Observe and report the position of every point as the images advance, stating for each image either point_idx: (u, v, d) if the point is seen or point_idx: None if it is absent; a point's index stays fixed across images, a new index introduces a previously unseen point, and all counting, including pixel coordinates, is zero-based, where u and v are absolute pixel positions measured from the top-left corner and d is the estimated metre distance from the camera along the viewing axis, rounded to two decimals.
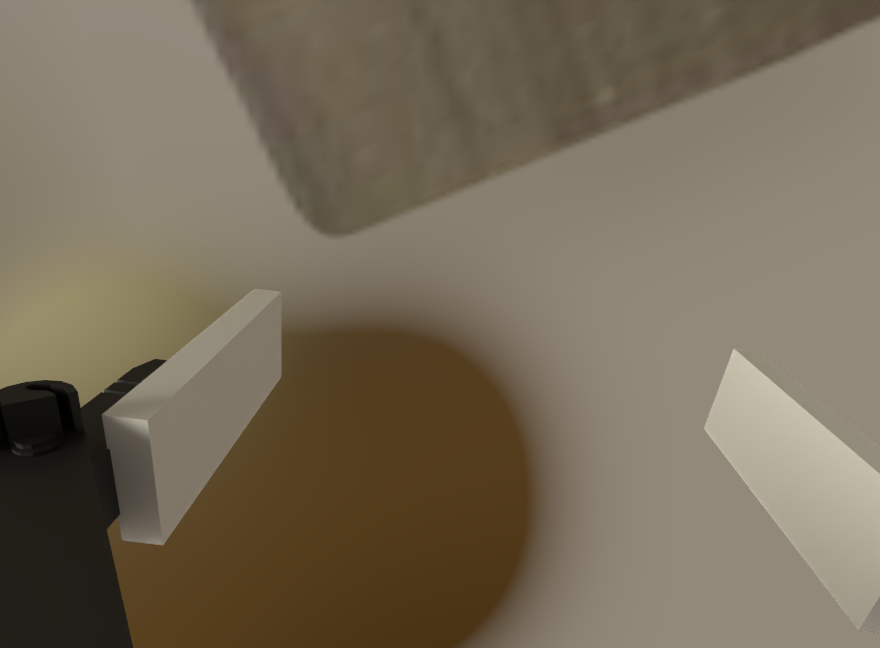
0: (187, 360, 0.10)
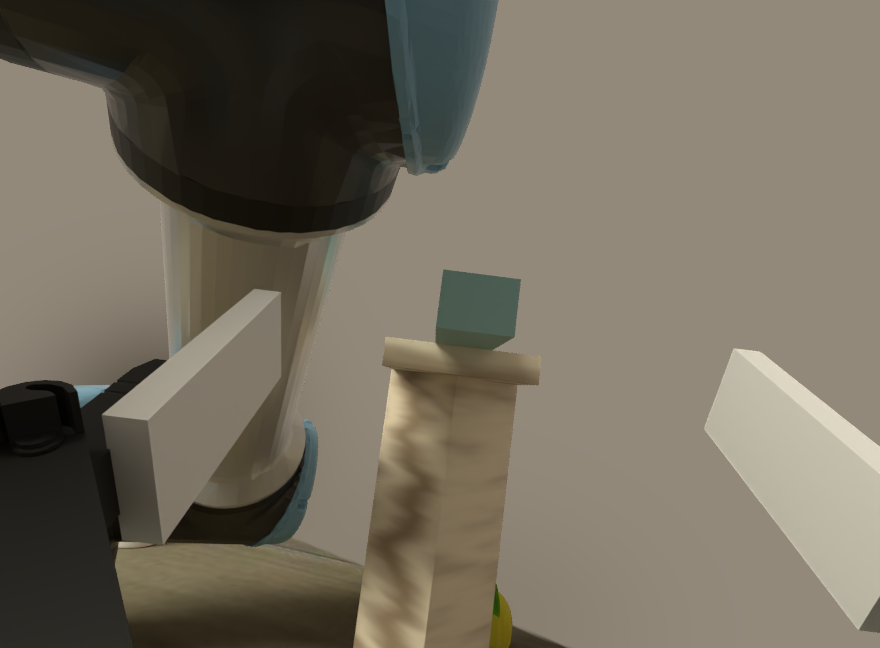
0: (187, 360, 0.10)
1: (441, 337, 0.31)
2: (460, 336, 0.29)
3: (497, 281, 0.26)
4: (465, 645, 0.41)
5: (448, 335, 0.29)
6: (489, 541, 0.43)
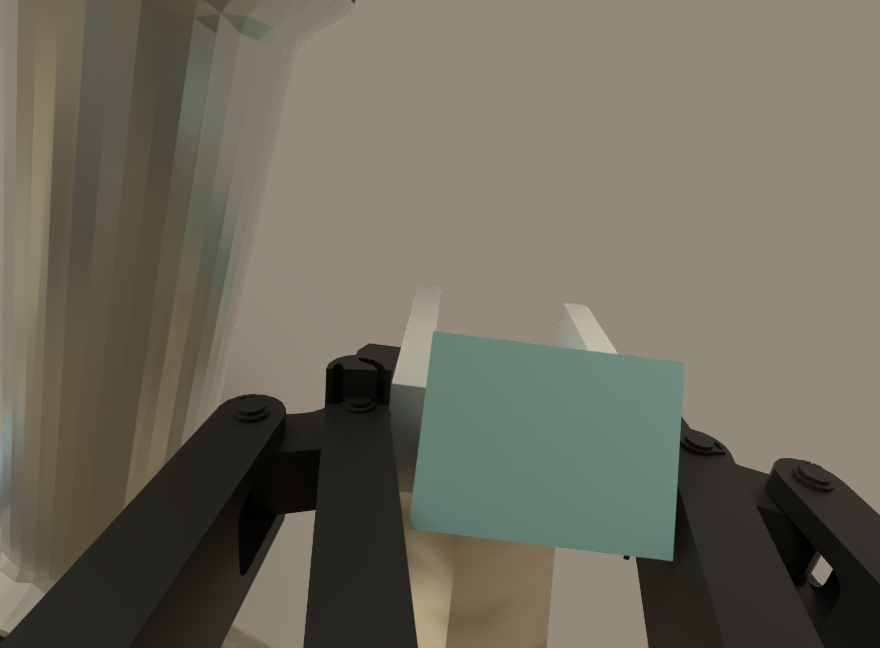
0: (417, 343, 0.12)
1: None
2: None
3: (609, 369, 0.08)
4: None
5: None
6: None
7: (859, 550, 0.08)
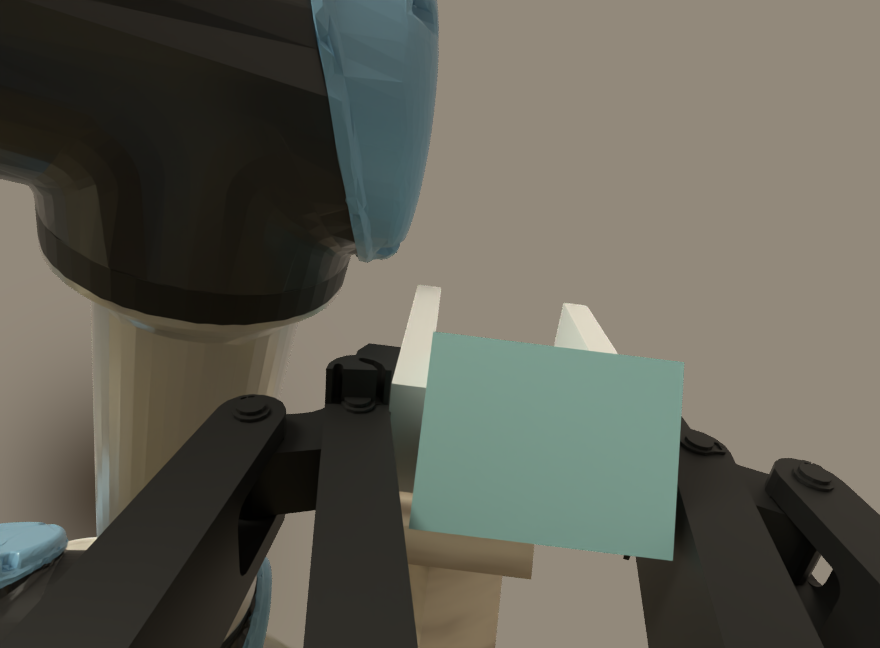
0: (417, 343, 0.12)
1: None
2: None
3: (609, 369, 0.08)
4: None
5: None
6: None
7: (859, 550, 0.08)
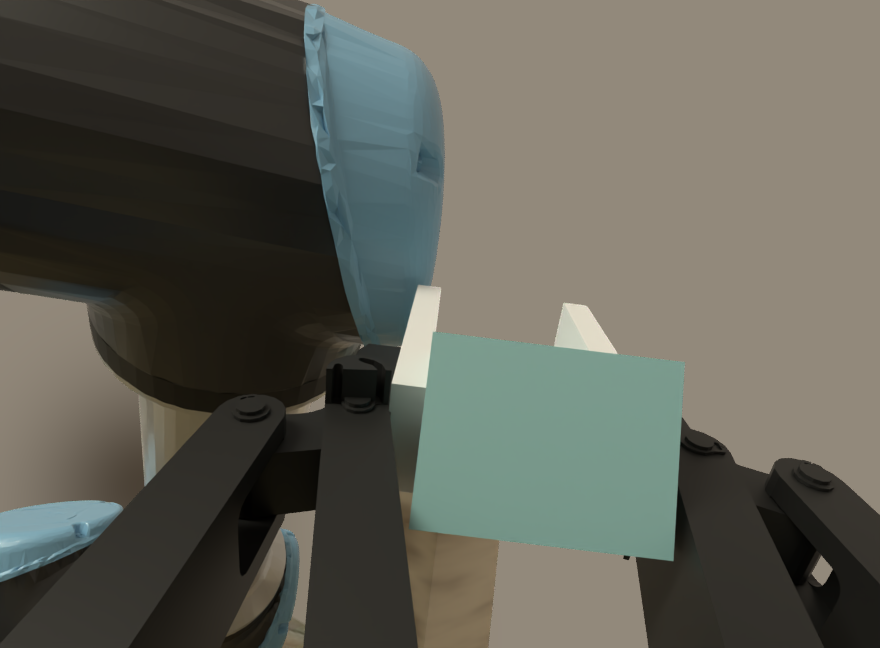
0: (417, 343, 0.12)
1: None
2: None
3: (609, 369, 0.08)
4: None
5: None
6: None
7: (859, 550, 0.08)
